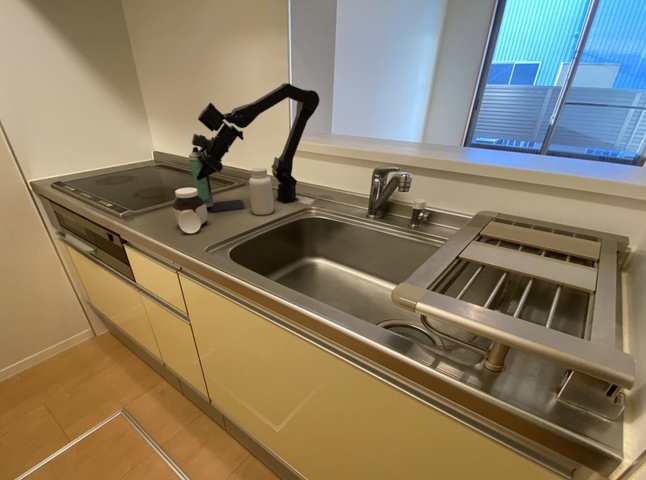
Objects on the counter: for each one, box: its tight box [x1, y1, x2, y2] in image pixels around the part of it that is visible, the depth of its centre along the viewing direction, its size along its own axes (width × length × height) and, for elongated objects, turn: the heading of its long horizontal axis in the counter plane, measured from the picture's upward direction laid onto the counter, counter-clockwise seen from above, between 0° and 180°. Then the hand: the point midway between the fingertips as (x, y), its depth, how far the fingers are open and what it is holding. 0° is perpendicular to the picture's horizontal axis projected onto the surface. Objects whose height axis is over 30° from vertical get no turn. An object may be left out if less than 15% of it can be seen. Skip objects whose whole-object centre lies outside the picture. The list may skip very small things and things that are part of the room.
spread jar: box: [172, 187, 208, 234], centre depth 110 cm, size 12×11×12 cm
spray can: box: [188, 146, 214, 208], centre depth 121 cm, size 6×6×20 cm
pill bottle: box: [248, 167, 274, 216], centre depth 121 cm, size 8×8×15 cm
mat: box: [209, 199, 245, 213], centre depth 130 cm, size 12×10×1 cm
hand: (196, 177), depth 121 cm, fingers closed on spray can, 5 cm apart
